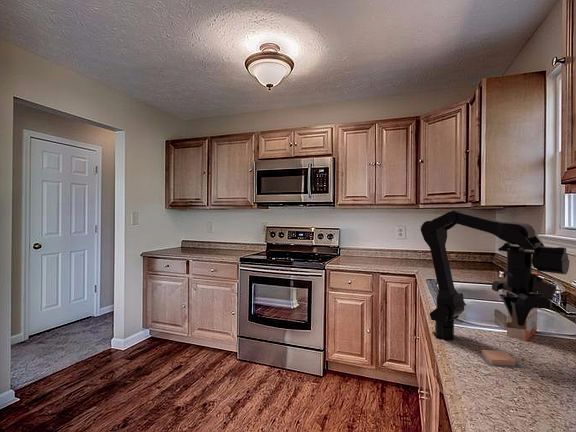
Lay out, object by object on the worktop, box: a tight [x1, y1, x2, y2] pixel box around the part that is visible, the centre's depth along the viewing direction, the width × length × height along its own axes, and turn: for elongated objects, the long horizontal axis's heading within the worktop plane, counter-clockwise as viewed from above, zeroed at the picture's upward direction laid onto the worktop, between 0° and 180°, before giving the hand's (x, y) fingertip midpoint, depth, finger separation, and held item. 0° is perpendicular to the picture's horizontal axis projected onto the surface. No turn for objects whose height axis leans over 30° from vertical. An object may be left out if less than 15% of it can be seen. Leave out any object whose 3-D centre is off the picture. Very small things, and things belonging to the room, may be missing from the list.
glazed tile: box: [481, 349, 517, 366], centre depth 91 cm, size 6×1×6 cm
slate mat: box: [476, 352, 525, 369], centre depth 91 cm, size 8×9×1 cm
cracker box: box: [506, 271, 540, 342], centre depth 109 cm, size 14×6×21 cm, turn 131°
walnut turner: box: [493, 308, 526, 331], centre depth 90 cm, size 6×6×5 cm
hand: (518, 323), depth 90 cm, fingers closed on walnut turner, 2 cm apart
